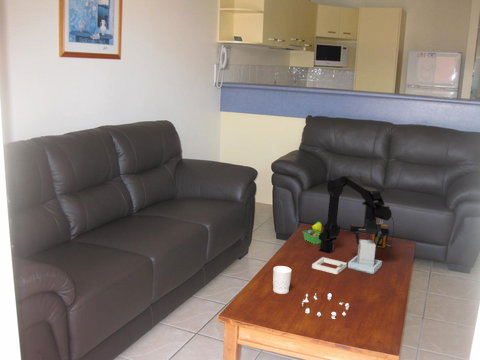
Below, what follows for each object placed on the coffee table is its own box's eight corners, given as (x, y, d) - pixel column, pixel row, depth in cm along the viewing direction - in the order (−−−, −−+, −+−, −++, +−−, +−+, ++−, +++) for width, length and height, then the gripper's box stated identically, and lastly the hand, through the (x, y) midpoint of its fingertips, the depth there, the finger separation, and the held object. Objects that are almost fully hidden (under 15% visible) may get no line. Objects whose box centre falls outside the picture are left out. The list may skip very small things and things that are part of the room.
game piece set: (315, 294, 229) (316, 286, 228) (357, 309, 217) (358, 300, 216) (290, 308, 214) (291, 299, 213) (334, 325, 202) (335, 315, 201)
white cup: (291, 289, 232) (293, 267, 230) (287, 296, 225) (289, 273, 223) (274, 286, 235) (276, 264, 233) (269, 292, 227) (271, 270, 225)
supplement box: (371, 264, 268) (373, 240, 265) (373, 269, 260) (376, 244, 258) (356, 262, 268) (358, 239, 266) (358, 268, 261) (360, 243, 258)
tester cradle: (311, 268, 259) (312, 263, 258) (322, 260, 270) (322, 255, 269) (337, 274, 253) (337, 269, 252) (346, 266, 263) (347, 261, 263)
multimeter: (393, 244, 303) (398, 211, 299) (391, 249, 294) (395, 215, 290) (368, 240, 309) (371, 207, 305) (364, 244, 300) (368, 210, 296)
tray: (347, 267, 262) (348, 262, 261) (356, 260, 273) (357, 255, 272) (373, 274, 256) (374, 268, 255) (381, 266, 267) (382, 260, 266)
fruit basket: (301, 239, 303) (302, 220, 301) (313, 237, 308) (315, 219, 305) (313, 245, 294) (315, 225, 291) (325, 243, 298) (327, 224, 296)
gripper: (353, 218, 252) (350, 249, 255) (393, 221, 250) (389, 252, 253) (350, 212, 263) (347, 242, 266) (388, 215, 261) (385, 245, 264)
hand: (367, 245), depth 262 cm, fingers open, 9 cm apart
